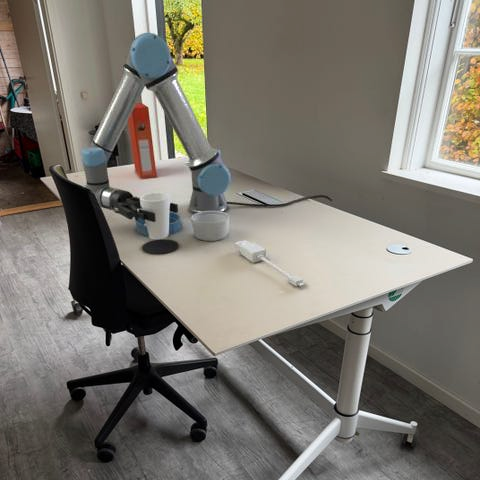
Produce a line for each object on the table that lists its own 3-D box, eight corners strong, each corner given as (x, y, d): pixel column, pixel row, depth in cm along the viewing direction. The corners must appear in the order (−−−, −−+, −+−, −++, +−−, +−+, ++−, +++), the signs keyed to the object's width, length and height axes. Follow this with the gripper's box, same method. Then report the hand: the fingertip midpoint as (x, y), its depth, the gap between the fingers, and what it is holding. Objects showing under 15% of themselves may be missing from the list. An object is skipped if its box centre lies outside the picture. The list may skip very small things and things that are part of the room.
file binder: (140, 179, 230) (131, 108, 213) (134, 170, 244) (125, 103, 227) (156, 177, 232) (148, 106, 215) (150, 169, 246) (142, 102, 229)
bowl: (182, 220, 178) (181, 210, 176) (180, 236, 165) (179, 225, 163) (139, 221, 178) (138, 212, 176) (133, 237, 164) (132, 227, 162)
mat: (179, 239, 162) (179, 238, 162) (177, 253, 152) (177, 252, 151) (144, 241, 161) (144, 239, 161) (140, 255, 151) (140, 254, 151)
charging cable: (295, 292, 129) (296, 282, 127) (233, 250, 152) (233, 240, 150) (309, 288, 131) (310, 277, 130) (246, 246, 154) (247, 237, 152)
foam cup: (149, 243, 149) (144, 203, 142) (140, 233, 156) (135, 195, 149) (177, 237, 153) (174, 198, 146) (167, 228, 160) (164, 190, 153)
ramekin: (212, 226, 172) (211, 207, 169) (237, 235, 164) (237, 216, 161) (184, 236, 164) (183, 216, 161) (209, 246, 156) (208, 226, 153)
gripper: (143, 203, 169) (190, 214, 157) (94, 220, 153) (141, 234, 142) (141, 182, 165) (188, 192, 153) (90, 197, 150) (138, 210, 138)
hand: (166, 213), depth 148 cm, fingers closed on foam cup, 9 cm apart
